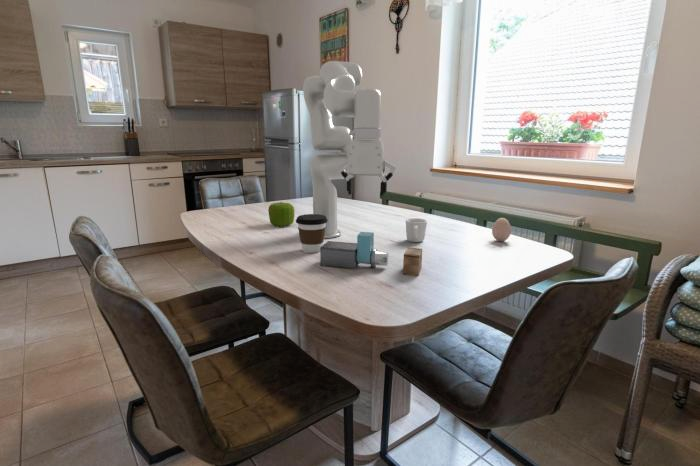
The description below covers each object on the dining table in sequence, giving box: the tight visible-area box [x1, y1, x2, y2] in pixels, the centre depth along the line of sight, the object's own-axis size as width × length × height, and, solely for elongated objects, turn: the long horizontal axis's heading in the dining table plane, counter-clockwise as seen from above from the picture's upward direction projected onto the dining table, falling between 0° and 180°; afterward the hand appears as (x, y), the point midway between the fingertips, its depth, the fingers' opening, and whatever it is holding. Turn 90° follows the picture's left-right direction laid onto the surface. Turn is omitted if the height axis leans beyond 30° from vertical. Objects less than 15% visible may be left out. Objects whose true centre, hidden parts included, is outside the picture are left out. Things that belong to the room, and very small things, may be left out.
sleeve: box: [319, 240, 361, 270], centre depth 125 cm, size 11×8×6 cm
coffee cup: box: [295, 213, 328, 254], centre depth 138 cm, size 11×11×12 cm
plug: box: [356, 231, 389, 268], centre depth 123 cm, size 19×6×10 cm, turn 74°
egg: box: [491, 217, 512, 243], centre depth 151 cm, size 7×7×9 cm
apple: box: [267, 201, 295, 228], centre depth 175 cm, size 11×11×11 cm
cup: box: [405, 217, 428, 243], centre depth 150 cm, size 11×8×8 cm
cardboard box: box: [402, 247, 423, 277], centre depth 119 cm, size 4×8×6 cm, turn 164°
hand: (366, 194), depth 118 cm, fingers open, 9 cm apart
